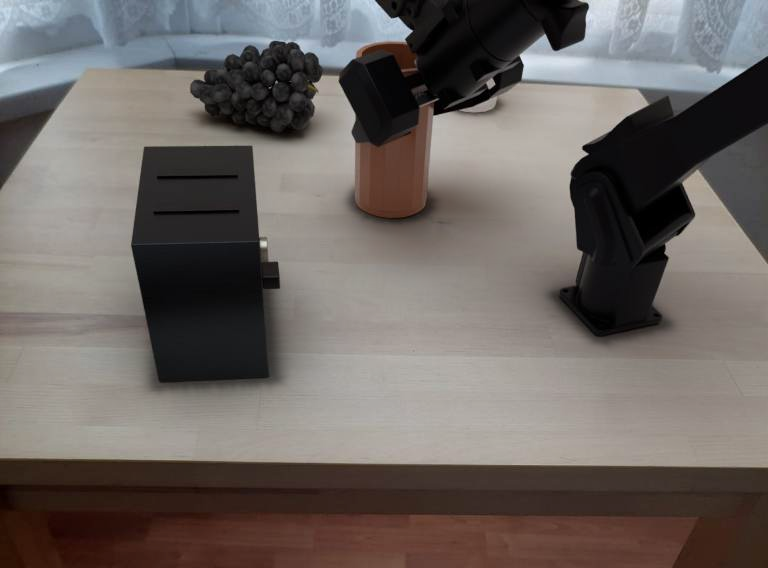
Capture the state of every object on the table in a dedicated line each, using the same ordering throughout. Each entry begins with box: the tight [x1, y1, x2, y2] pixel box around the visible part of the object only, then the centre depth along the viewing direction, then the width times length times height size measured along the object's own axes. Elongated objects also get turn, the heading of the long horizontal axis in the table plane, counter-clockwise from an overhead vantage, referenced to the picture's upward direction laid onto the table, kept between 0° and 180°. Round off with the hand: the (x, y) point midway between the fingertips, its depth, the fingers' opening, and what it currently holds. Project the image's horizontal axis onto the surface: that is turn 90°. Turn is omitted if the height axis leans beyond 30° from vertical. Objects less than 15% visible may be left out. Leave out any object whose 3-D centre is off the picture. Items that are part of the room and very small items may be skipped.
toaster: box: [130, 145, 281, 383], centre depth 58 cm, size 9×14×11 cm, turn 8°
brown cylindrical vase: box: [354, 40, 434, 219], centre depth 72 cm, size 7×7×13 cm
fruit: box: [189, 40, 324, 133], centre depth 85 cm, size 9×8×15 cm
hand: (382, 126), depth 73 cm, fingers closed on brown cylindrical vase, 7 cm apart
